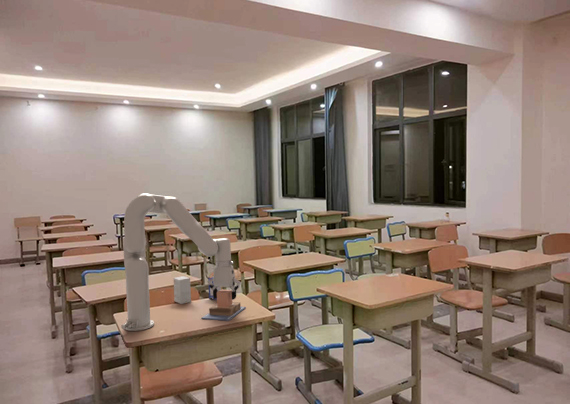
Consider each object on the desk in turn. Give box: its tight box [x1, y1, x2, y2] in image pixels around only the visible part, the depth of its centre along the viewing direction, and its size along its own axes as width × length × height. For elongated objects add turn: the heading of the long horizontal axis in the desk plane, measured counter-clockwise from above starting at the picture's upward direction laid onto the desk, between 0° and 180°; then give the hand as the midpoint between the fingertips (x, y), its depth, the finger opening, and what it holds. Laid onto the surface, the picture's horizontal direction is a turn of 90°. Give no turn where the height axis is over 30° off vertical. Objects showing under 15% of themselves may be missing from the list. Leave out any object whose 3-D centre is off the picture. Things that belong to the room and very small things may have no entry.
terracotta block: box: [216, 289, 233, 307], centre depth 198 cm, size 6×6×7 cm
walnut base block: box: [208, 301, 242, 316], centre depth 198 cm, size 12×11×3 cm
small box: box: [173, 275, 192, 305], centre depth 221 cm, size 8×6×13 cm
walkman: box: [207, 276, 224, 301], centre depth 224 cm, size 8×3×12 cm, turn 58°
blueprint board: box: [201, 306, 246, 322], centre depth 197 cm, size 20×14×1 cm
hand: (224, 298), depth 198 cm, fingers open, 9 cm apart
